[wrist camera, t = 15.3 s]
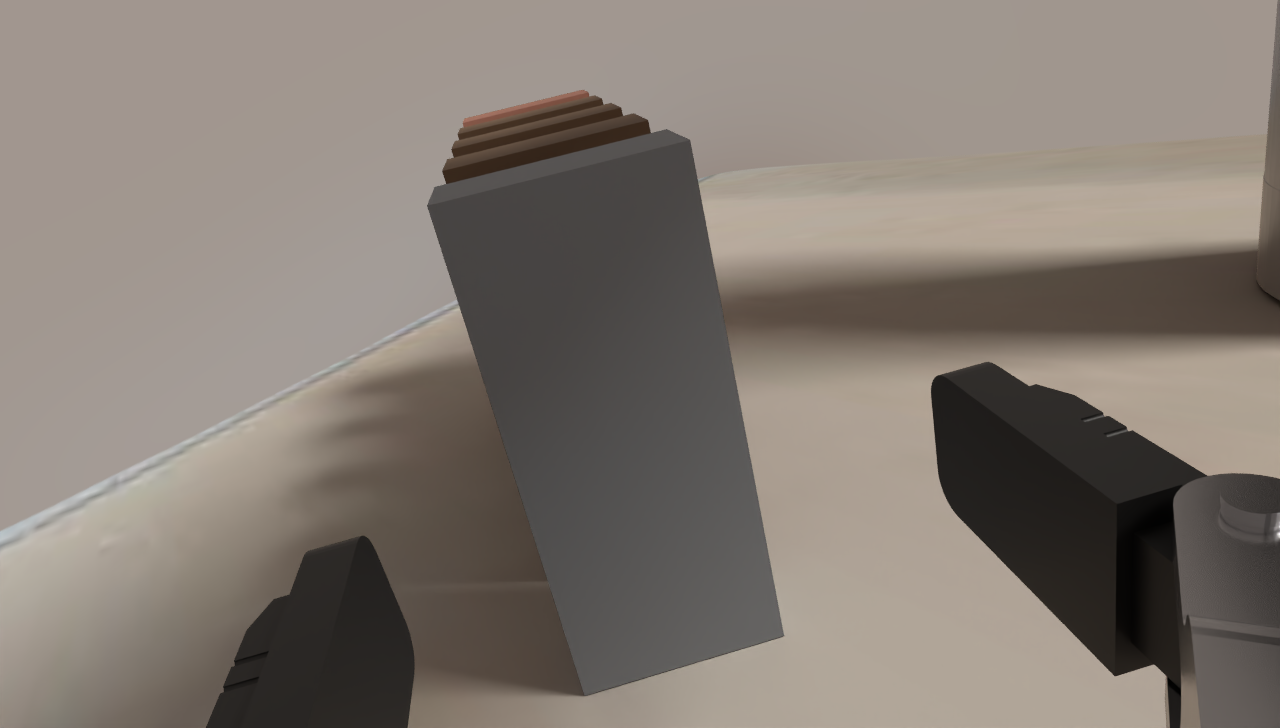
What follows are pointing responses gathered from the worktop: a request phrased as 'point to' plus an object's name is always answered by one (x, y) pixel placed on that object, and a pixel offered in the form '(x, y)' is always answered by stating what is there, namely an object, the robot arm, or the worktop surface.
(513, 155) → the domino
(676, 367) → the gray domino
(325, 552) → the robot arm
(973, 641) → the worktop surface
